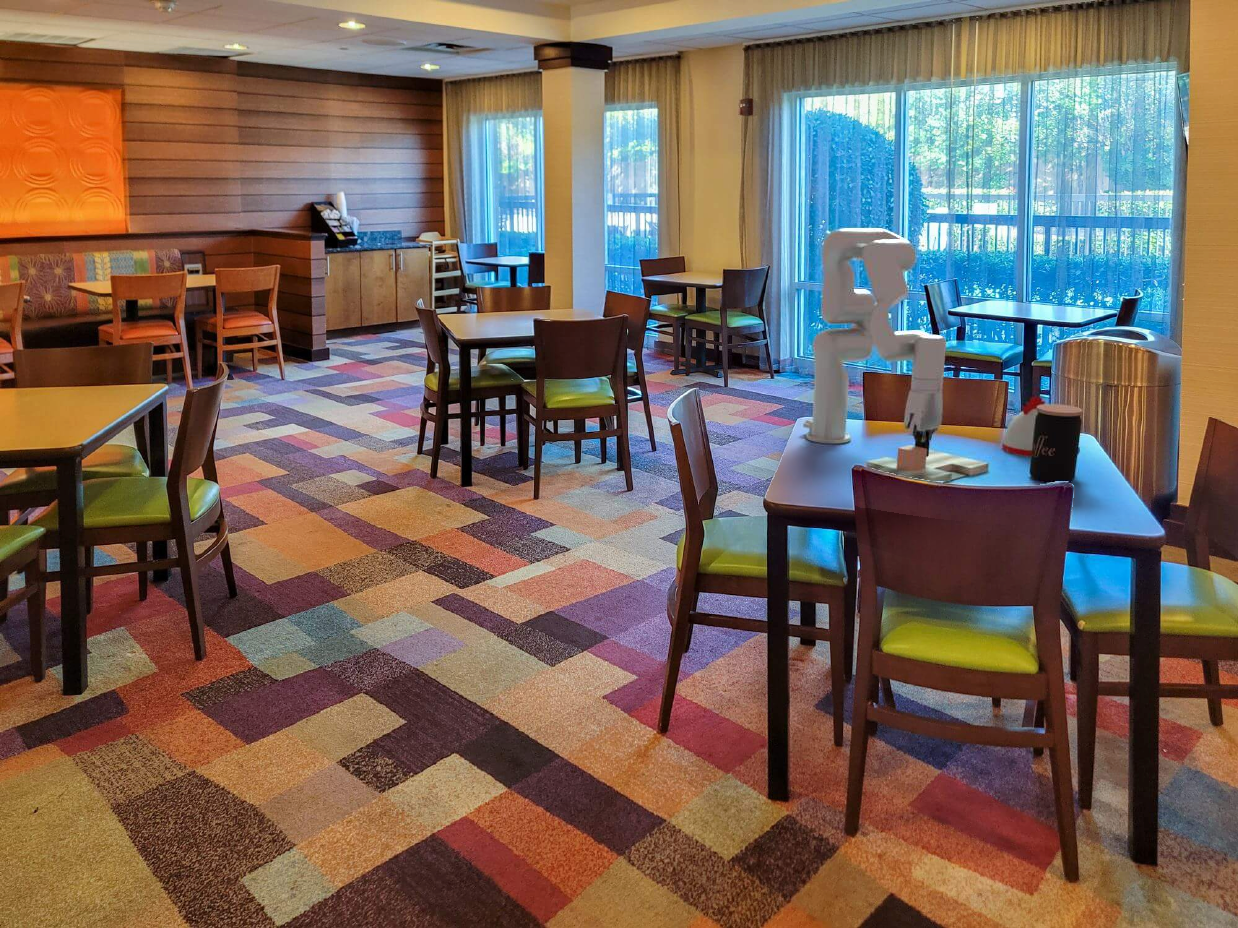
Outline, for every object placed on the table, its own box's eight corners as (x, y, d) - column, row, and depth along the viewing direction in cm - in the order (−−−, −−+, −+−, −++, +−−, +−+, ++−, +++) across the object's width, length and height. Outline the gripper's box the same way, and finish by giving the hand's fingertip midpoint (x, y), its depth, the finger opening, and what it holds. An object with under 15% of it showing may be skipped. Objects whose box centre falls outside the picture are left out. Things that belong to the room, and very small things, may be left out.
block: (896, 467, 265) (898, 447, 264) (908, 464, 268) (910, 445, 267) (913, 471, 261) (914, 451, 260) (925, 468, 265) (927, 448, 263)
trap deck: (865, 468, 271) (866, 461, 271) (922, 455, 286) (923, 448, 285) (931, 486, 256) (932, 478, 255) (988, 470, 270) (988, 463, 270)
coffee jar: (1021, 473, 268) (1028, 404, 264) (1061, 472, 269) (1069, 403, 265) (1040, 484, 258) (1049, 412, 253) (1082, 484, 259) (1091, 412, 254)
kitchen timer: (1066, 452, 290) (1072, 399, 286) (1033, 458, 283) (1039, 404, 280) (1024, 442, 302) (1029, 391, 298) (991, 448, 295) (996, 395, 291)
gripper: (932, 379, 270) (926, 449, 275) (895, 385, 261) (890, 457, 266) (957, 383, 265) (951, 454, 269) (921, 390, 256) (915, 463, 260)
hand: (921, 455), depth 267 cm, fingers closed
